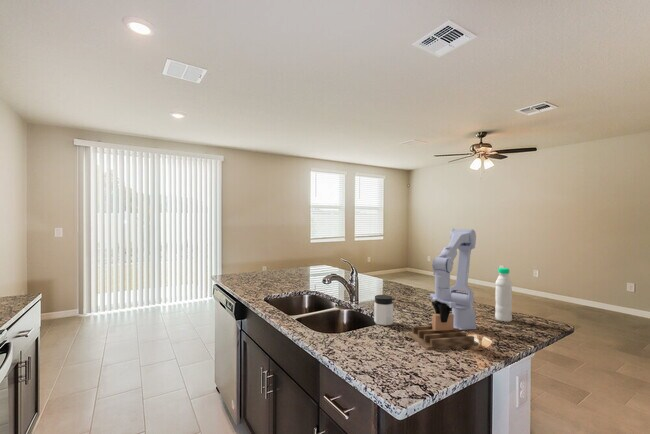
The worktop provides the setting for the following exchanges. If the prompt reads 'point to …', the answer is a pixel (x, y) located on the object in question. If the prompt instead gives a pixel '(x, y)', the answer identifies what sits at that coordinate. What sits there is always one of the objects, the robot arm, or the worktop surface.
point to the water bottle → (503, 296)
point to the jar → (383, 310)
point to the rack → (441, 337)
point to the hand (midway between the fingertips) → (442, 321)
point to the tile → (439, 326)
